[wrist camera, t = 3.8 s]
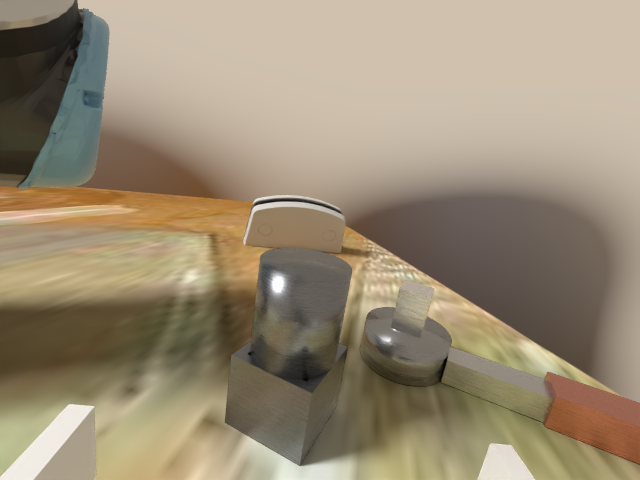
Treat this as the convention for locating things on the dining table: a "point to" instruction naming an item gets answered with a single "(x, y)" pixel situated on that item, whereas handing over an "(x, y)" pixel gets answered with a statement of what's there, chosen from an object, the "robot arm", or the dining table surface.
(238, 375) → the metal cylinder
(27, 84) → the robot arm
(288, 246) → the hinge
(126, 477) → the dining table surface
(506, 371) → the ratchet
